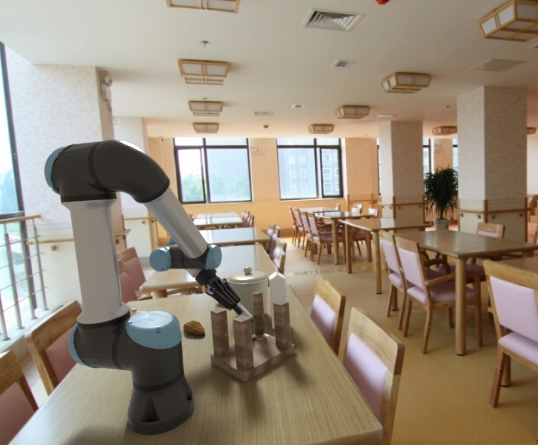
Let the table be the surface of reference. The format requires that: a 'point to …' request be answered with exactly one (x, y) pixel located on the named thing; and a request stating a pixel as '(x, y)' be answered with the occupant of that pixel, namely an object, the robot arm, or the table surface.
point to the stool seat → (250, 343)
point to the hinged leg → (258, 314)
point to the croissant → (194, 328)
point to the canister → (249, 287)
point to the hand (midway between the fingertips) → (249, 319)
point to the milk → (276, 290)
